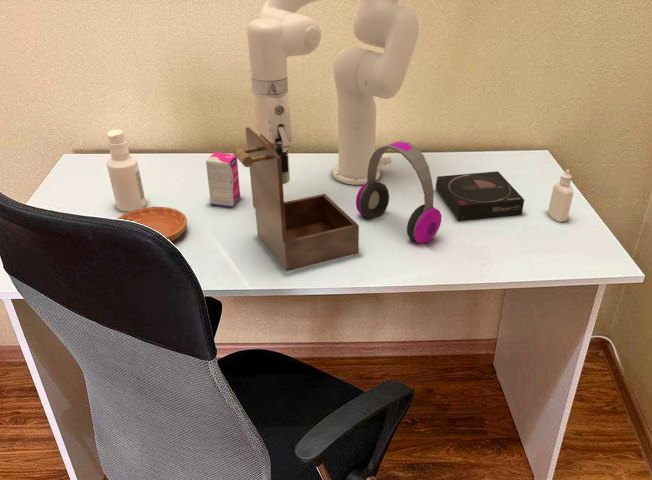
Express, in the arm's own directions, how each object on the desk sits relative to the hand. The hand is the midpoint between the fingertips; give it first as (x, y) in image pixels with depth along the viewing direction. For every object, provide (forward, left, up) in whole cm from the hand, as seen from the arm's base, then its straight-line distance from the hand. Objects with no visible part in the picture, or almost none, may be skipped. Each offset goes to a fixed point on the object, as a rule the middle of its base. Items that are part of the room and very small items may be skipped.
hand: (275, 165), depth 149 cm
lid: (+8, +16, +4) cm, 19 cm away
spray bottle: (+30, -20, -13) cm, 38 cm away
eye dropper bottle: (-60, +30, -13) cm, 68 cm away
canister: (0, 0, -3) cm, 3 cm away
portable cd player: (-47, +15, -13) cm, 51 cm away
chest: (0, +16, -12) cm, 21 cm away
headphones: (-22, +18, -13) cm, 31 cm away
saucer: (+29, -4, -13) cm, 32 cm away
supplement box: (+9, -12, -13) cm, 20 cm away
